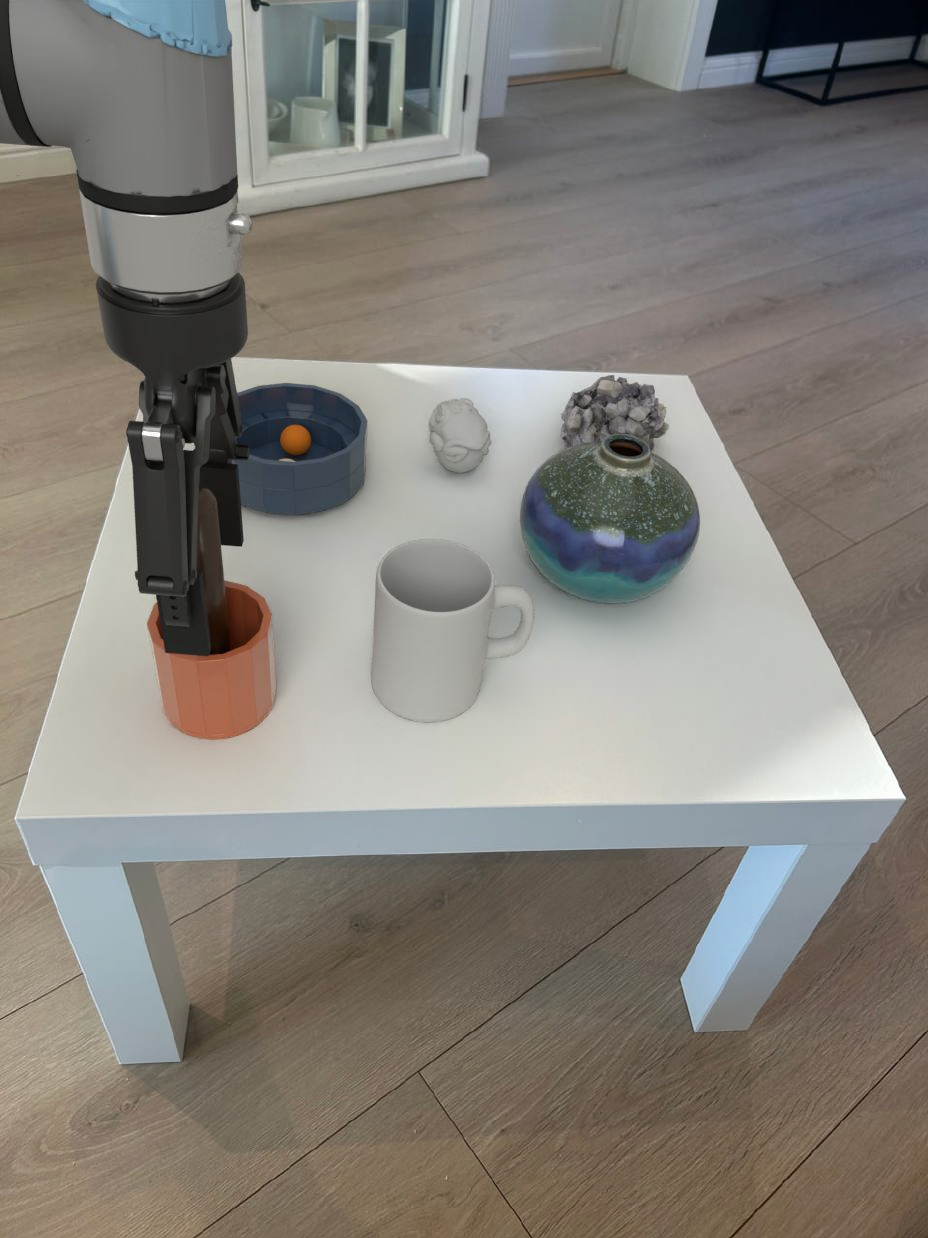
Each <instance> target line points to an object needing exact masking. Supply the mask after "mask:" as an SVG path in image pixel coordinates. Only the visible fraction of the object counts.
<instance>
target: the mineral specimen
mask: <svg viewBox="0 0 928 1238" xmlns="http://www.w3.org/2000/svg"><path fill="white" fill-rule="evenodd" d="M627 379H628V378H627V377H621V376H618V378H617V379H615V374H608V375H606V376H600V377H598V379H597V380H596V381H594V383H593V384H592V385H591V386H588V387H586V388H584V389H581V391H577V392H576V391H575V392H574V391H573V392H572V393H571V396H570V398H569V400H568V401H567V403H566V405H565V407H564V410H563V412H562V413H561V415H560V418H561V421H563V424H562V426H561V428H560V434H559V437H560V438H561V440H562V441H563V442H564V443H565V445H566V446H567V448H569V447H572V446H575V445H579V444H583V443H589V442H596V441H603V440H604V439H605V438H606V437H608V436H610V435H613V434H628V435H632V436H635V437H638V438H640V439H642V440H643V441H644V442H646V443H647V444H648V446H649V447H650V451H651V452H652V450H653V449H654V448H655V443H654V439H660V438H661V437H662V436H664V435H666V433H667V431H669V428H670V427H669V426H670V424H669V423H666V422H665V418H666V416H667V406H665V405H664V404H663V403H661V402H659V398H658V397H656V395H655V393H656V390H655V386H654V384H647V383H643V384H639V382H638V381H636V382H633V383H629V382H628V380H627Z"/></svg>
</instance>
